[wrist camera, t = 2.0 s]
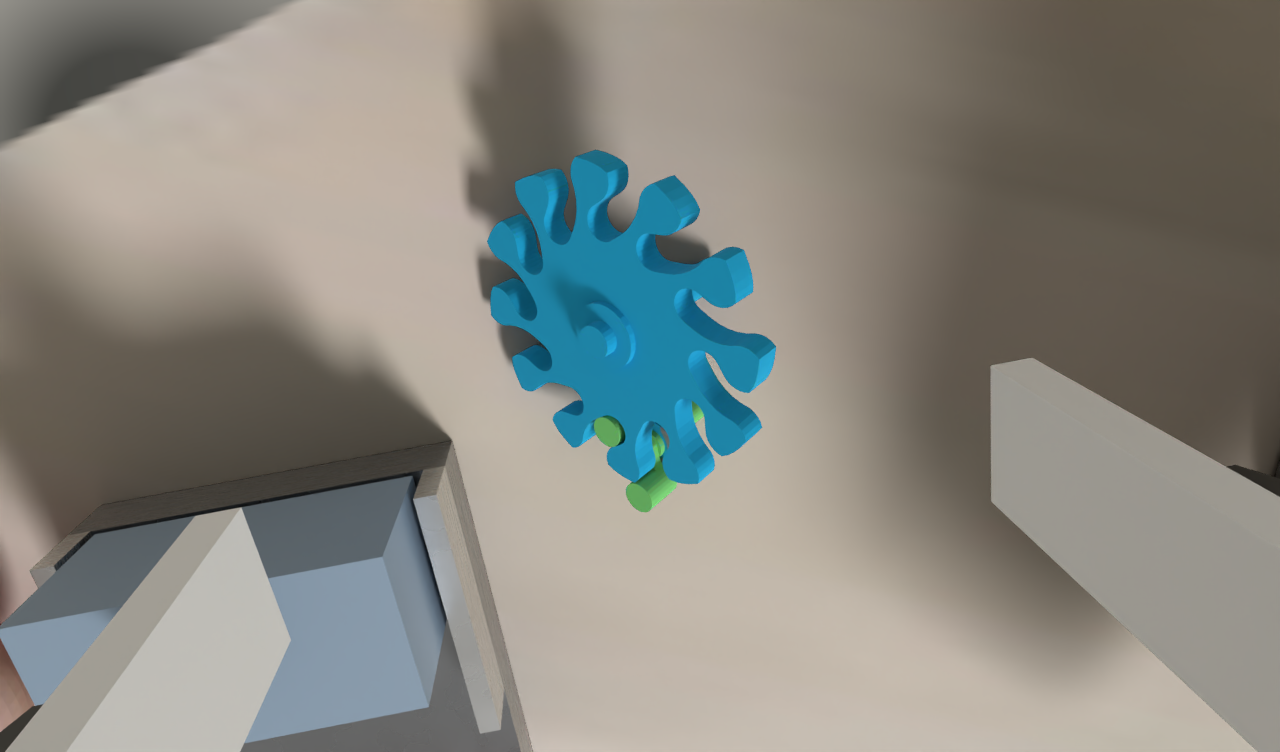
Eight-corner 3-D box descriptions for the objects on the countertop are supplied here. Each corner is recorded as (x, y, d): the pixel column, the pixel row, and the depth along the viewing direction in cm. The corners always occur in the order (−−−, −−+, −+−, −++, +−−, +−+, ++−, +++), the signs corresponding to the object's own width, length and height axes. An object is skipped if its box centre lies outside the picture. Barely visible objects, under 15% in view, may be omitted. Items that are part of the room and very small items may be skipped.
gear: (443, 149, 23) (739, 182, 18) (581, 109, 27) (861, 125, 22) (506, 468, 29) (751, 575, 23) (614, 396, 33) (847, 471, 27)
